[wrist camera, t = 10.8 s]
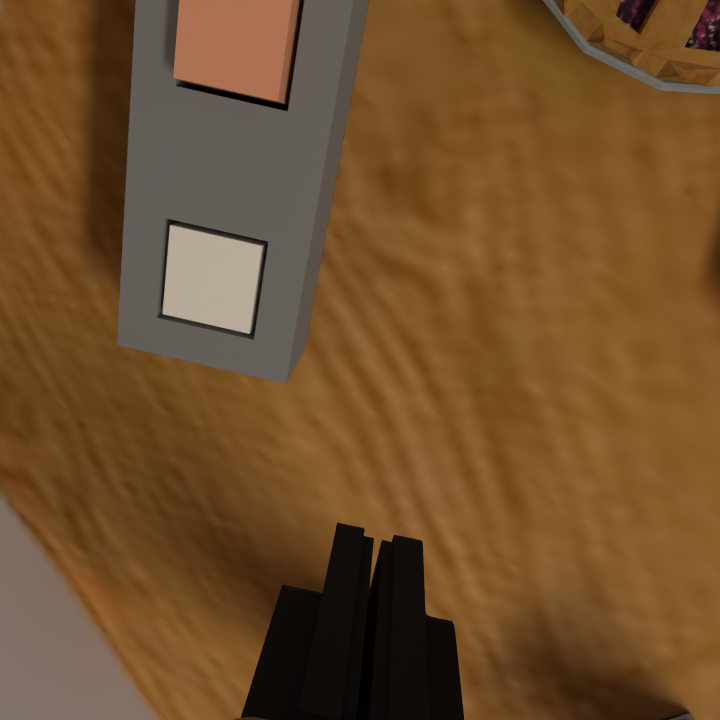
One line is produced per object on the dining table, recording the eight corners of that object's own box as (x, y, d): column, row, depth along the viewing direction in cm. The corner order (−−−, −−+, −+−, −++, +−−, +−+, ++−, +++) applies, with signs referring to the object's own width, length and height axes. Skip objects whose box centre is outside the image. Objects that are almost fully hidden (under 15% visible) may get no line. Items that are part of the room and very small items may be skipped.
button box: (304, 349, 38) (285, 383, 32) (160, 316, 38) (117, 345, 32) (374, -28, 30) (365, -70, 24) (192, -68, 30) (142, -120, 24)
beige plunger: (273, 306, 37) (249, 333, 31) (200, 289, 37) (162, 314, 31) (285, 231, 35) (262, 245, 29) (208, 213, 35) (169, 225, 29)
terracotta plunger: (301, 110, 31) (277, 101, 26) (215, 91, 31) (173, 77, 26) (317, 10, 30) (295, -24, 24) (226, -10, 30) (183, -49, 24)
